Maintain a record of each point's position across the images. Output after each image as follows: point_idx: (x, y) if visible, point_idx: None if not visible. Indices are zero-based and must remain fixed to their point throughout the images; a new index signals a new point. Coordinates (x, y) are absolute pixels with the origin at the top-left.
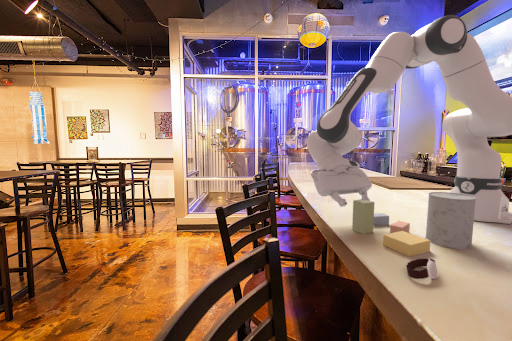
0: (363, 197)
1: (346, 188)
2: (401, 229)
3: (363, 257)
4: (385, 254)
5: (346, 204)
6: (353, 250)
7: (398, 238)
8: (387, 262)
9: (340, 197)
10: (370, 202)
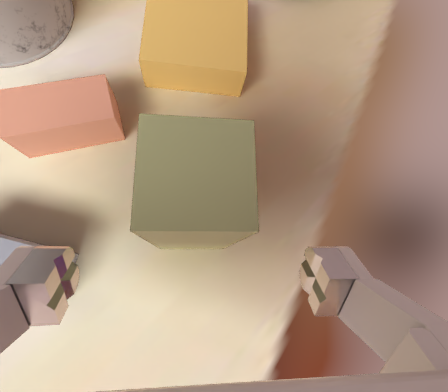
0: (51, 287)
1: (297, 381)
2: (107, 82)
3: (360, 73)
4: (292, 57)
5: (306, 251)
6: (357, 111)
7: (232, 30)
8: (323, 33)
9: (380, 290)
10: (186, 116)
